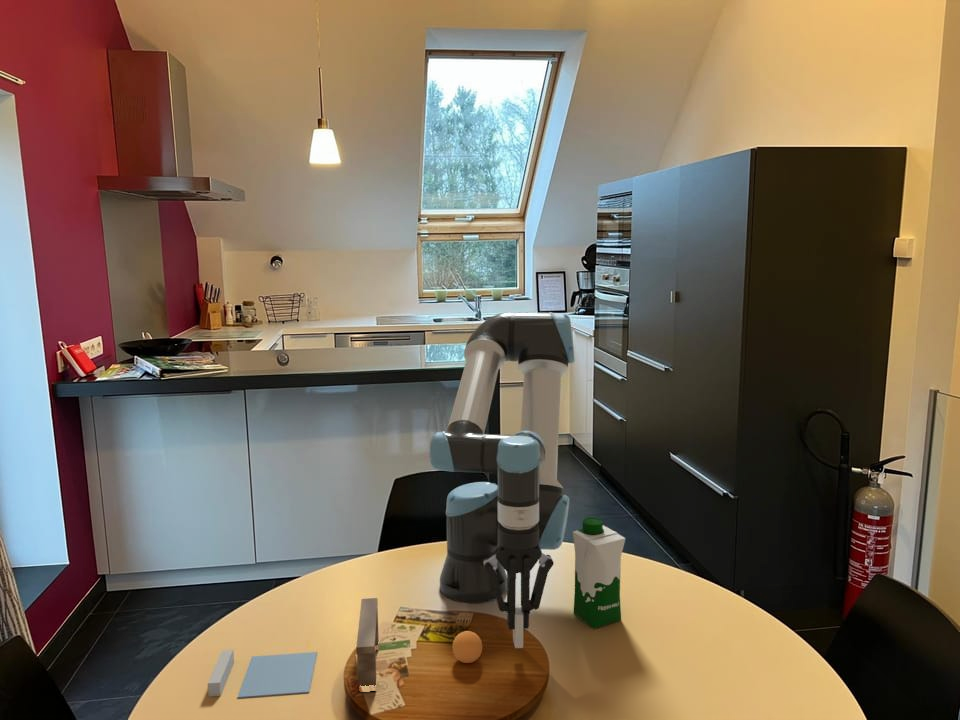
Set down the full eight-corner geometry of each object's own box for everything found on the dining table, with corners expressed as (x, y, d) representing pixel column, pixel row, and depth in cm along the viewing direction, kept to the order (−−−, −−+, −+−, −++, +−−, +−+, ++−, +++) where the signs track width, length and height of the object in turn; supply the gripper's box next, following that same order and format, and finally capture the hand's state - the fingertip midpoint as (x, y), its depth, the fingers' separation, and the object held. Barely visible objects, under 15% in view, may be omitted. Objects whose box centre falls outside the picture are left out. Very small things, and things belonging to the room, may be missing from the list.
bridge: (358, 697, 120) (356, 647, 119) (363, 643, 136) (361, 598, 135) (376, 695, 120) (374, 646, 119) (378, 642, 137) (377, 597, 135)
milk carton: (601, 602, 151) (602, 513, 148) (628, 621, 143) (630, 528, 140) (567, 612, 147) (568, 521, 144) (593, 633, 139) (595, 537, 136)
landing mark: (252, 657, 132) (251, 656, 132) (317, 652, 133) (317, 651, 133) (237, 698, 120) (237, 697, 120) (309, 692, 121) (309, 691, 121)
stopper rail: (223, 662, 130) (222, 650, 130) (234, 661, 130) (233, 649, 130) (208, 696, 120) (207, 683, 120) (220, 695, 121) (219, 682, 120)
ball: (451, 653, 133) (451, 626, 132) (480, 651, 133) (480, 624, 132) (453, 670, 127) (453, 642, 126) (484, 668, 128) (483, 640, 127)
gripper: (484, 532, 123) (485, 657, 126) (558, 529, 124) (556, 652, 128) (480, 516, 130) (480, 635, 134) (549, 513, 131) (548, 630, 135)
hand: (518, 643), depth 131 cm, fingers closed
